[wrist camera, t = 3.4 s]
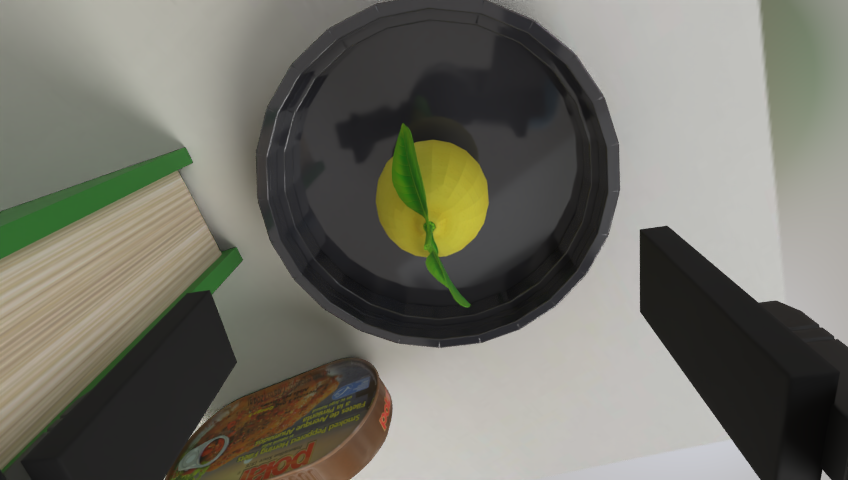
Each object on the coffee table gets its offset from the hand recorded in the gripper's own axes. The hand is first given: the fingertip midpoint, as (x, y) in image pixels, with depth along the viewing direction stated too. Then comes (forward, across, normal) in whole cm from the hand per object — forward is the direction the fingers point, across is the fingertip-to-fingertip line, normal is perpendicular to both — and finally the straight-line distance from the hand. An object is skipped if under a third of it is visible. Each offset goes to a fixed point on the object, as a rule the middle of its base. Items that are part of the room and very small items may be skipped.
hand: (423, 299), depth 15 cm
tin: (+14, -12, -14) cm, 23 cm away
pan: (+14, 0, 0) cm, 14 cm away
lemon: (+14, 0, 0) cm, 14 cm away
